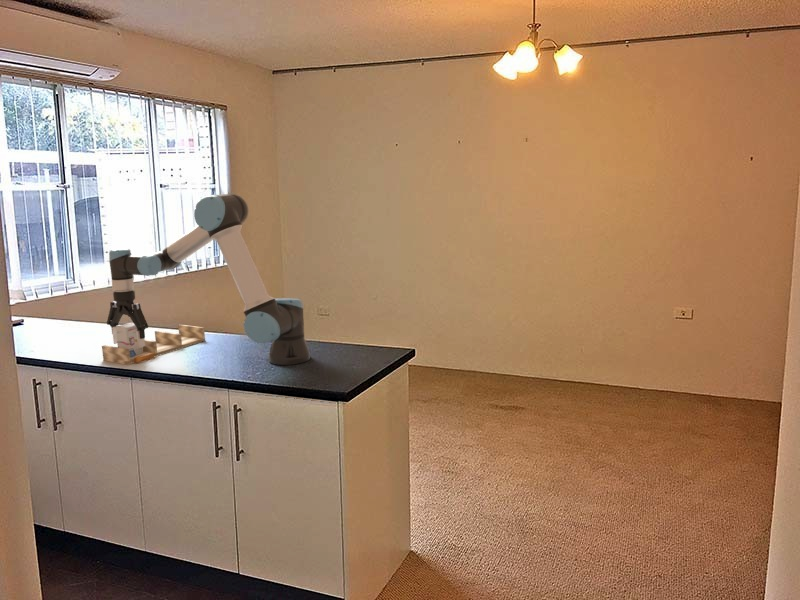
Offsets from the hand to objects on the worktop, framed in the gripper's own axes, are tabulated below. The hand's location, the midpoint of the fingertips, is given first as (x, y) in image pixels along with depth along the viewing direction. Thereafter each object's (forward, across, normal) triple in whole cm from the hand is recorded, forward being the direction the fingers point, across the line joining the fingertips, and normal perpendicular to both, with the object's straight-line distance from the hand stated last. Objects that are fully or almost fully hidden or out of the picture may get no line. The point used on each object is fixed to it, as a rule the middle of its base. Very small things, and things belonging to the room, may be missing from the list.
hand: (129, 345), depth 256 cm
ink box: (+4, 0, 0) cm, 4 cm away
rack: (+5, 0, -12) cm, 14 cm away
